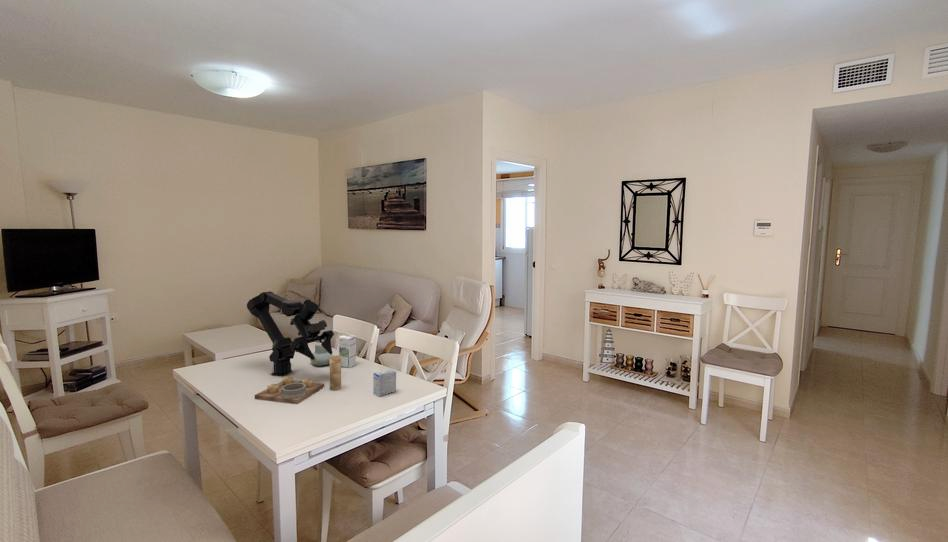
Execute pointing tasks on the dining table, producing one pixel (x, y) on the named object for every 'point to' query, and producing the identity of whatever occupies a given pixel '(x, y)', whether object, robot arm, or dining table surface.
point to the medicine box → (384, 382)
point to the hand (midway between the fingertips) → (322, 356)
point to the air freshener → (320, 355)
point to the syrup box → (347, 350)
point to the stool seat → (290, 390)
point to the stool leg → (335, 372)
